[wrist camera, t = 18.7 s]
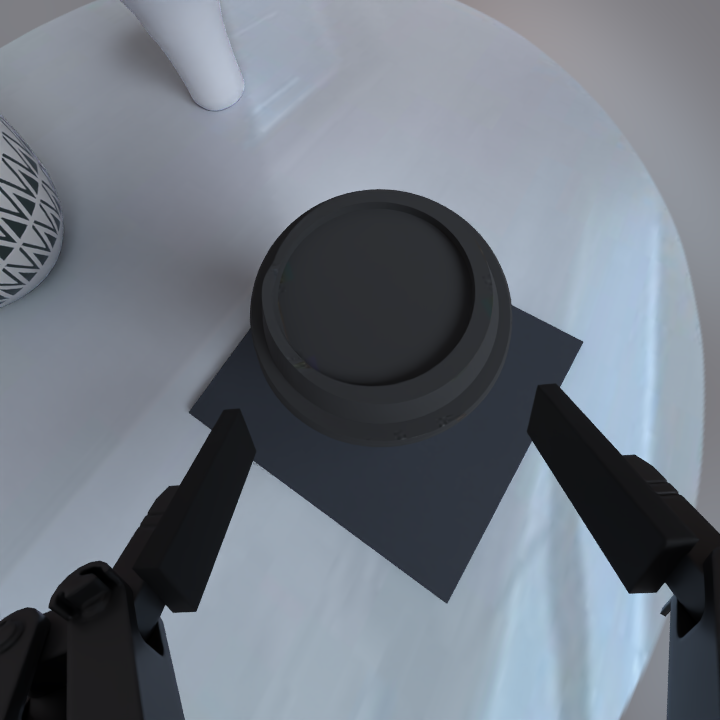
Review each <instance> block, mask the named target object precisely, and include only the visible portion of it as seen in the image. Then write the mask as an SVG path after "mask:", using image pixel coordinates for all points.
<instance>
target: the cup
mask: <svg viewBox="0 0 720 720" xmlns="http://www.w3.org/2000/svg"><path fill="white" fill-rule="evenodd" d="M120 1H121V2H122V3H123V4H124V5H125V6H126V7H127V8H128V9H129V10H130V11H131V12H132V13H133V14H134V15H135V16H136V17H137V19H138V20H139V21H140V23H141V24H142V26H143V27H144V28H145V30H146V31H147V32H148V34H149V35H150V36H151V37H152V38H153V39H154V40H155V42H156V43H157V44H158V45H159V46H160V47H161V49H162V50H163V52H164V53H165V54H166V56H167V57H168V59H169V60H170V62H171V63H172V65H173V66H174V68H175V69H176V71H177V72H178V74H179V75H180V77H181V79H182V80H183V82H184V84H185V85H186V87H187V89H188V91H189V93H190V95H191V96H192V98H193V100H194V102H195V103H197V104H198V105H199V106H201V107H203V108H205V109H207V110H213V111H219V110H222V109H226V108H228V107H230V106H232V105H234V104H235V103H236V102H237V101H238V100H239V99H240V97H241V96H242V94H243V92H244V86H245V81H244V78H243V75H242V73H241V71H240V68H239V66H238V64H237V61H236V59H235V56H234V53H233V51H232V48H231V45H230V42H229V39H228V36H227V33H226V30H225V26H224V22H223V17H222V13H221V7H220V1H219V0H120Z"/></svg>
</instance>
